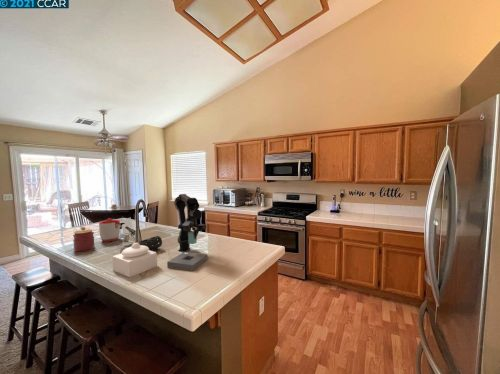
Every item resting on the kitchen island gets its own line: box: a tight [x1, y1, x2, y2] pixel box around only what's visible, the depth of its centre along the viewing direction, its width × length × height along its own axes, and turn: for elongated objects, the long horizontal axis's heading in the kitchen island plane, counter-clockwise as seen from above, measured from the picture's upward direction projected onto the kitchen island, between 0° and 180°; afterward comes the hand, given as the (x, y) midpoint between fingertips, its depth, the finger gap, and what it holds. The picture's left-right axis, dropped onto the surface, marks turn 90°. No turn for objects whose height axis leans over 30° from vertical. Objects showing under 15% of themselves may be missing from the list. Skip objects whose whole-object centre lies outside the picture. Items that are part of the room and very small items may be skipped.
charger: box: [188, 230, 198, 245], centre depth 149 cm, size 4×4×8 cm
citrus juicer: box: [98, 217, 122, 243], centre depth 192 cm, size 16×17×20 cm
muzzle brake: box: [119, 235, 163, 254], centre depth 157 cm, size 10×28×10 cm, turn 155°
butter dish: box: [112, 242, 158, 278], centre depth 133 cm, size 18×18×16 cm
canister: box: [72, 226, 95, 253], centre depth 169 cm, size 13×13×18 cm
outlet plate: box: [166, 251, 209, 272], centre depth 140 cm, size 18×18×4 cm
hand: (192, 238), depth 149 cm, fingers closed on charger, 4 cm apart
